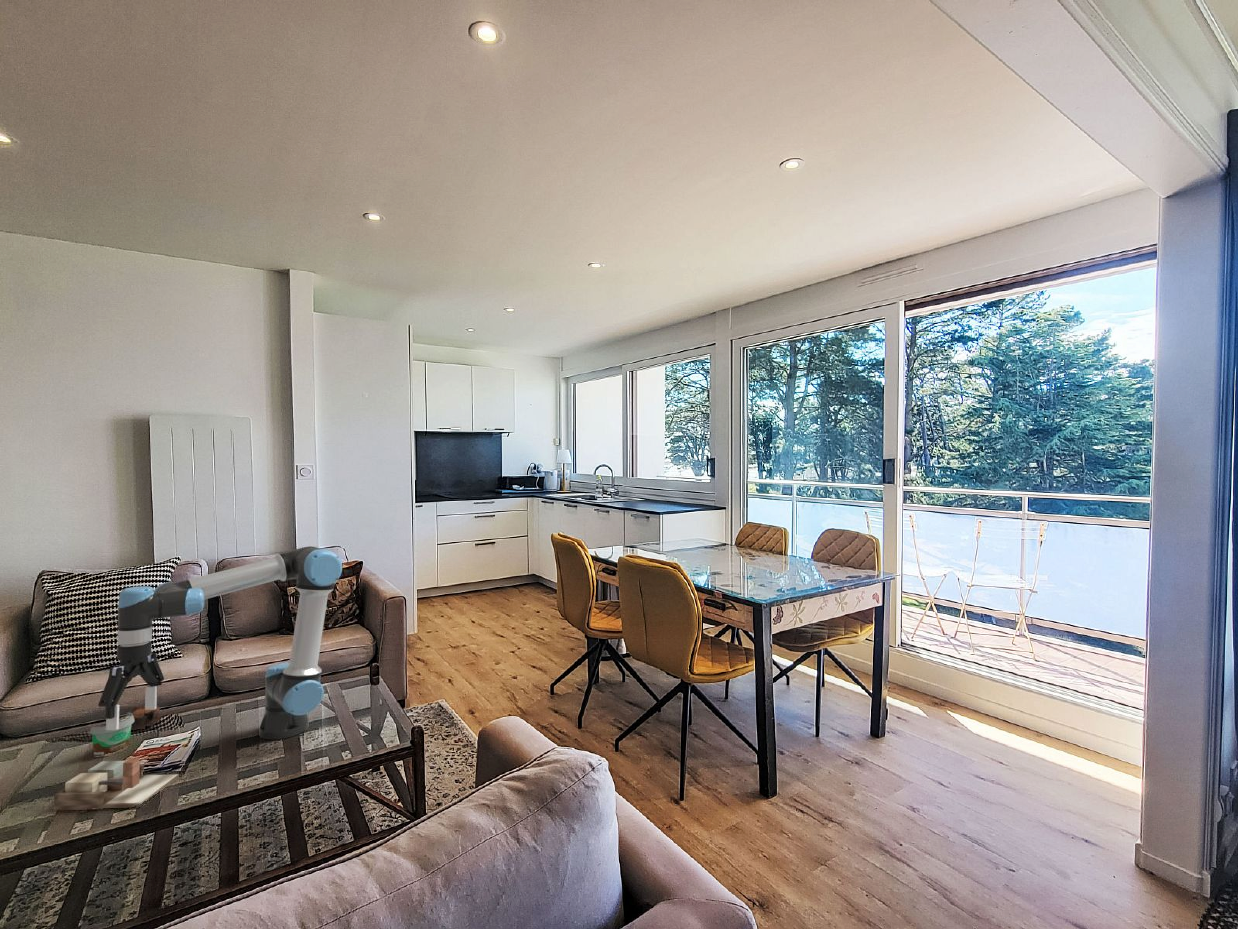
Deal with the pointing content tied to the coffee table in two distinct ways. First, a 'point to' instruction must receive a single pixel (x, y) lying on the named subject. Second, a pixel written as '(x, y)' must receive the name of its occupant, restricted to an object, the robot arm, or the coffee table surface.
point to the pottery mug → (140, 717)
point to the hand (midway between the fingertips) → (132, 719)
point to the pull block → (105, 779)
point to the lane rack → (114, 790)
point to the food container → (112, 736)
